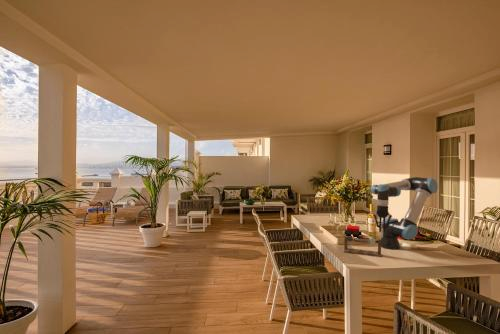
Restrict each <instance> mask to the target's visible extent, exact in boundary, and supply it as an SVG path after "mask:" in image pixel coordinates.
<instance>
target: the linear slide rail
mask: <svg viewBox="0 0 500 334" xmlns="http://www.w3.org/2000/svg"><path fill="white" fill-rule="evenodd" d="M347 238H348V236H346V235H344V240H343V241H344V243H343V244H344V248H343V249H344V250H343V253H346V254H353V255H362V256H370V257H377V258H382V247H381V239H379V238H378V240H377V241H378V243H377V247H378V248H377V251H375V250H370V249H369V250H367V249H360V248H352V247H348V242H349V241H348V240H347Z"/></svg>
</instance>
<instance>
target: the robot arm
mask: <svg viewBox="0 0 500 334" xmlns="http://www.w3.org/2000/svg"><path fill="white" fill-rule="evenodd" d="M438 189H439V185H438V182H437V180H436V179H435V178H432V177H421V176H420V177H419V176H417V177H416V176H414V177H407V178H403V179H401V180H399V181H393V182H389V183H381V184H373V185H371V187H370V192H371V194H373V195H376V196H377V200H376V201H377V203H376V204H377V206H376V212H375V213H372V214H373V215H372V216H373V217H374V221H375V224H376V227H377V228H378V229H379V230H378V232H379V233H380V240H381V248H384V249H388V250H399V249H400V248H401V245H400V241H399V239H398V238H403V239H406V240H413V239H415V238H416V237H417V235H418V233H419V229H418V227H417V226H418V224H417V222H418V219H419V217H420V215H421V212H422V210H423V209H424V206H425V204H426V201H427V199H428V198H429V197H431V196H432V194H436V193H437V192H438ZM402 191H414V192H415V195H414V197H413V199H412V201H411V202H410V205H409V207H408V209H407V211H406V213H405V215H404V217H402V218H401V220H400V221H399V219H398V218H392V217H393V216H392V214H390V213H389V212H390V211H389V198H391V197H392V198H393V197H395V198H396V197H399V196H401V193H402ZM377 217H379V222H378V218H377ZM387 217H388V218H387Z"/></svg>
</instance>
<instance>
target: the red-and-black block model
mask: <svg viewBox="0 0 500 334" xmlns="http://www.w3.org/2000/svg"><path fill="white" fill-rule="evenodd" d="M362 233H363V232H362V230H360V225H353V224H350V225H349V224H348V225H347V227H346V229H344V235H345V234H346V235H345V236H351V234H353V237H357V238H358V237H359V238H360V236H359V235H361V236H362ZM353 237H352V238H353ZM359 238H358V239H359Z"/></svg>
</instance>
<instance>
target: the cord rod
mask: <svg viewBox="0 0 500 334" xmlns="http://www.w3.org/2000/svg"><path fill="white" fill-rule="evenodd" d="M347 240H348V242H350V243H351V242H353V237H352V236H348V238H347ZM355 241H356V242H358V241H359V242H365V243H366V242H367V243H370V239H365V238H364V239H363V238H358V239H357V238H354V242H355ZM375 244H378V240H375Z"/></svg>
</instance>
